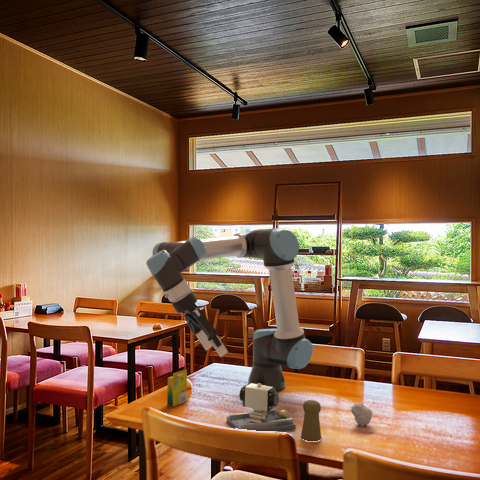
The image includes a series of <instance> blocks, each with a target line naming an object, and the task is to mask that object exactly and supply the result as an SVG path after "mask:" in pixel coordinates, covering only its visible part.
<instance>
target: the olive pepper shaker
mask: <svg viewBox="0 0 480 480" xmlns="http://www.w3.org/2000/svg"><path fill="white" fill-rule="evenodd" d="M320 403H321V402H319V401H318V400H313V399H307V400H305V401H304V402H303V404H302V410H303V412H304V415H303V421H302V428H301V434H300V435H301V436H300V439H301V438H302V439H304V440H307V441H318V440H320V439H321V440H322V431H321V424H320V423H321V421H320V412H321V408H322V407H321V404H320ZM302 439H301V440H302Z"/></svg>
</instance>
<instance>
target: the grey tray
mask: <svg viewBox="0 0 480 480" xmlns="http://www.w3.org/2000/svg"><path fill="white" fill-rule="evenodd" d="M250 412H251V411H248V412H238V413H229V414H228V416H226V423H227V424H228V425H229V426H230V427H231V428H232V429H234V428H238V429H247V430H256V431H283V432H287V431H295V430H294V429H297V424H295V423H294V418H293V417H289V418H288V416H289V413H288V410H287V409H282V410H281V408H273V409H272V410H270V411H266V413H265V414H267V415H268V419H267V421H265V422H257V423H253V422H251V419H250Z"/></svg>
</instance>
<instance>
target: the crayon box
mask: <svg viewBox="0 0 480 480" xmlns="http://www.w3.org/2000/svg"><path fill="white" fill-rule="evenodd" d="M187 371H188V369H182V370H180V371H175V372H173V373H172V376H169V377H167V398H166V400H167V401H166V402H167V403H166V404H167V406H169V407H172V408H174V407H176V406H178V405H181V404H183V403H186V402H188V401H187V398H188V397H187V391H188V389H187V387H188V386H187V385H188V383H187V382H188V381H187V380H188V372H187Z"/></svg>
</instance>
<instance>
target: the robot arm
mask: <svg viewBox="0 0 480 480" xmlns="http://www.w3.org/2000/svg"><path fill="white" fill-rule="evenodd" d="M299 251H300V244H299V240H298V237H297V236H296V234H295V233H294V232H292V231H291V230H290V229H287V228H280V227H279V228H278V227H277V228H260V229H254V230H250V231H244V232H237V233H234V234H233V236H221V237H214V238H213V237H211V238H201V239H200V238H199V237H198V236H193V237H191V238H188V239H187V240H180V241H170V242H168V241H166V242H165V241H163V242H159V243H156V244H155V245H154V247H153V249H152V256H150V257H149V258H148V259H147V260H146V263H145V264H146V267H147V268H148V270H149V272H150V274H151V275H152V276H153V278H154V280H155V281H156V283H157V284H158V286H159V287H160V289H161V290H162V291H163V293H164V298H166V299H168V301H169V302H170V303H171V306H172V307H173V308H174V310H175V311H176V313H178V314H182V316H183V317H184V319H185V321H186V323H187V325H188V327H189V330H190V332H192V333H194V334H195V336H196V337H197V339H198V340H199V342H200V344H201V345H202V347H203V349H204V350H205V351H206V352H207V351H208V350H209V349H210V348H212V347H213V348H214V350H215V351H216V353H217V354H218V356H219V357H220V358H222V357H223V356H225V355H226V354H227V353H229V351H228V350H227V347H226V346H225V345H224V343H223V342H222V340H221V339H220V337H219V336H218V335H219V331H217V329H216V328H215V327H214V326H213V324H212V323H211V322H210V321H209V320H208V318H207V317H206V316H205V314H204V313H203V312H202V310H201V309H200V308H199V307H198V308H196V306H195V304H197V302H198V298H197V296H196V295H195V294H194V292H193V291H192V290H191V287H190V286H189V284H188V282H187V280H186V279H185V278H184V276H183V274H182V273H184V272H185V271H187V269H189V268H191V267H192V266H194V264H196V263H197V262H200V261H203V260H205V261H206V260H212V259H221V258H229V257H230V258H231V257H236V258H239V259H242V258H249V259H250V258H251V259H260V260H263V266H264V268H266V269H267V270H268V273H269V281H270V287H271V295H272V296H271V297H272V300H273V301H272V303H273V308H274V315H275V322H276V323H275V324H276V328H261V329H256V330H255V331H254V332H253V339H252V368H251V370H250V373H249V377H248V379H247V381H248V382H247V384H249V383H253V384H258V383H261V385H266V386H270V387H275V391H276V392H277V391H281V390H283V389H285V387H286V380H285V376H284V372H283V368H282V366H285V367H288V368H290V369H296V370H301V369H304V368H305V367H306V366H308V365H309V363H310V360H311V359H312V357H313V351H314V348H313V347H314V346H313V343H312V342H311V341H310V340H309V339H307V338H306V336H305V331H304V329H303V328H302V327H300V321H299V315H298V314H299V313H298V308H297V307H298V306H297V298H296V292H295V284H294V277H293V269H292V267H293V265H294V264H295V258H296V257H297V256H298V252H299Z"/></svg>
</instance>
